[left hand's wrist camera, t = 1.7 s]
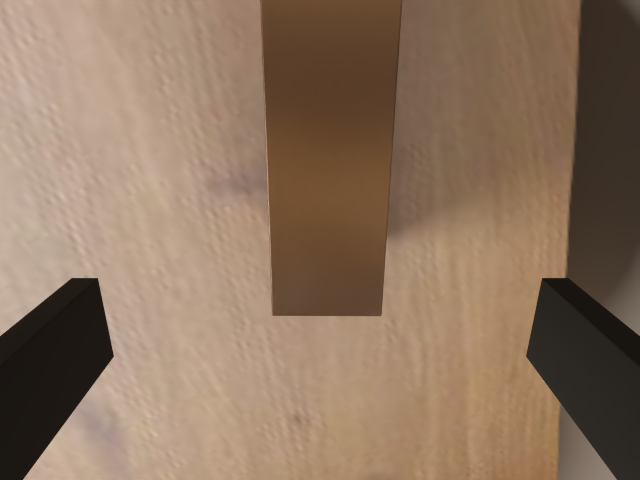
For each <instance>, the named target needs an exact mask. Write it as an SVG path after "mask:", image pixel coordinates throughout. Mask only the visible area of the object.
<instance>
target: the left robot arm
mask: <svg viewBox="0 0 640 480" xmlns="http://www.w3.org/2000/svg"><path fill="white" fill-rule="evenodd" d="M113 357H114V355H113V350H112V345H111V340H110V335H109V331H108V326H107V321H106V316H105V311H104V306H103V301H102V296H101V292H100V287H99V282H98V278H71V279H70V280H69V281H68V282H67V283H65V284H64V285H63V286H62V287H60V288H59V289H58V290H57V291H55V292H54V293H53V294H52V295H51V296H49V297H48V298H47V299H46V300H44V301H43V302H42V303H41V304H39V305H38V306H37V307H36V308H35V309H33V310H32V311H31V312H30V313H28V314H27V315H26V316H25V317H23V318H22V319H21V320H20V321H18V322H17V323H16V324H15V325H14V326H12V327H11V328H10V329H9V330H7V331H6V332H5V333H4V334H2V335H1V336H0V480H23V479H24V477H25V476H26V475H27V473H28V472H29V471H30V469H31V468H32V467H33V465H34V464H35V463H36V461H37V460H38V458H39V457H40V456H41V454H42V453H43V452H44V450H45V449H46V448H47V446H48V445H49V444H50V442H51V441H52V440H53V438H54V437H55V435H56V434H57V433H58V431H59V430H60V429H61V427H62V426H63V425H64V423H65V422H66V421H67V419H68V418H69V416H70V415H71V414H72V412H73V411H74V410H75V408H76V407H77V406H78V404H79V403H80V402H81V400H82V399H83V397H84V396H85V395H86V393H87V392H88V391H89V389H90V388H91V387H92V385H93V384H94V383H95V381H96V380H97V379H98V377H99V376H100V374H101V373H102V372H103V370H104V369H105V368H106V366H107V365H108V364H109V362H110V361H111V360H112V358H113ZM526 357H527V358H528V360H529V361H530V362H531V364H532V365H533V366H534V368H535V369H536V370H537V372H538V373H539V374H540V376H541V377H542V379H543V380H544V381H545V383H546V384H547V385H548V387H549V388H550V389H551V391H552V392H553V393H554V395H555V396H556V397H557V399H558V400H559V402H560V403H561V404H562V406H563V407H564V408H565V410H566V411H567V412H568V414H569V415H570V416H571V418H572V419H573V421H574V422H575V423H576V425H577V426H578V427H579V429H580V430H581V431H582V433H583V434H584V435H585V437H586V438H587V440H588V441H589V442H590V444H591V445H592V446H593V448H594V449H595V450H596V452H597V453H598V454H599V456H600V457H601V458H602V460H603V461H604V463H605V464H606V465H607V467H608V468H609V469H610V471H611V472H612V473H613V475H614V476H615V477H616V479H617V480H640V336H639V335H638V334H636V333H635V332H634V331H633V330H631V329H630V328H629V327H628V326H626V325H625V324H624V323H623V322H621V321H620V320H619V319H618V318H617V317H615V316H614V315H613V314H612V313H610V312H609V311H608V310H607V309H605V308H604V307H603V306H602V305H601V304H599V303H598V302H597V301H596V300H594V299H593V298H592V297H591V296H589V295H588V294H587V293H586V292H584V291H583V290H582V289H581V288H580V287H578V286H577V285H576V284H575V283H573V282H572V281H571V280H570V279H568V278H542V282H541V287H540V292H539V296H538V301H537V306H536V311H535V316H534V321H533V326H532V331H531V335H530V340H529V345H528V350H527V355H526Z"/></svg>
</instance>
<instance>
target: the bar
mask: <svg viewBox="0 0 640 480" xmlns="http://www.w3.org/2000/svg"><path fill="white" fill-rule="evenodd" d="M260 5H261V32H262V58H263V85H264V111H265V138H266V165H267V191H268V218H269V244H270V271H271V297H272V315H273V316H381V315H382V299H383V284H384V269H385V254H386V239H387V223H388V208H389V193H390V178H391V162H392V147H393V132H394V117H395V102H396V86H397V71H398V56H399V41H400V26H401V10H402V0H260Z"/></svg>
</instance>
